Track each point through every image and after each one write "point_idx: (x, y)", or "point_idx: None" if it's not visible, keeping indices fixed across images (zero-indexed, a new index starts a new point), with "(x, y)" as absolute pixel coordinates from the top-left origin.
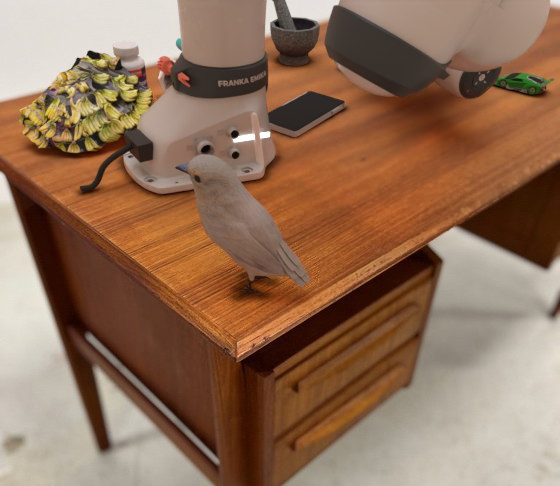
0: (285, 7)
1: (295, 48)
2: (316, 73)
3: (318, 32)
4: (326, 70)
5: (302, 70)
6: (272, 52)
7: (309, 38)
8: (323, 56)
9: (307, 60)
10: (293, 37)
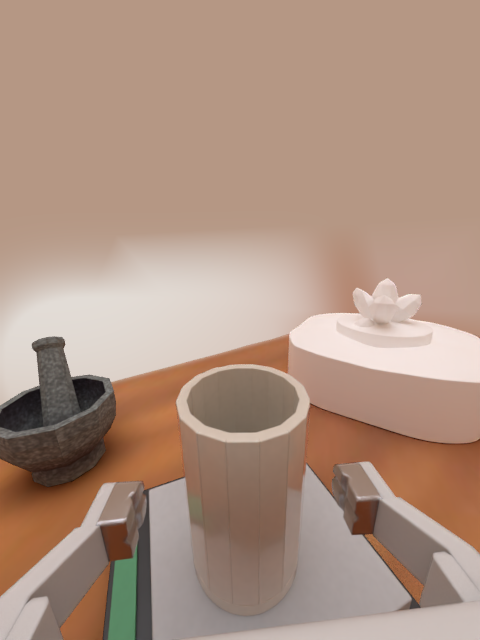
0: (50, 366)
1: (19, 466)
2: (43, 546)
3: (92, 423)
4: None
5: (32, 518)
6: None
7: (48, 447)
8: (143, 443)
9: (85, 467)
10: (3, 447)
